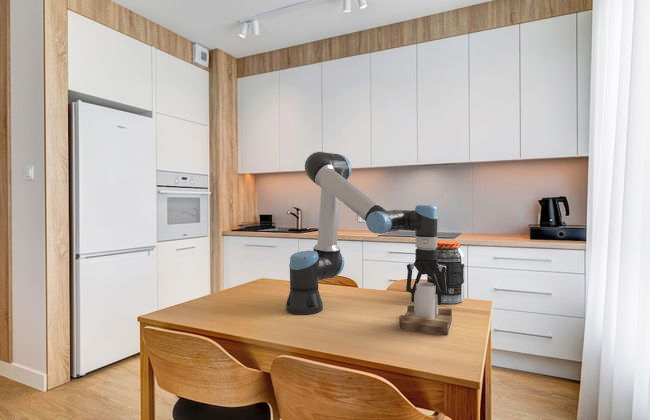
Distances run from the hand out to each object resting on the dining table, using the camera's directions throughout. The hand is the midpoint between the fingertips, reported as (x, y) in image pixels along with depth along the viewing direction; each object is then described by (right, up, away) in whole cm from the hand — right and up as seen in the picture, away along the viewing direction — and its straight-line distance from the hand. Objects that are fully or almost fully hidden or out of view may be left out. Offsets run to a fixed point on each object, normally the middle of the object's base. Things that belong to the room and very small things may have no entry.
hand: (426, 312), depth 136 cm
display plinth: (0, -4, 0) cm, 4 cm away
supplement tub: (+17, -3, +33) cm, 37 cm away
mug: (0, -2, 0) cm, 2 cm away
